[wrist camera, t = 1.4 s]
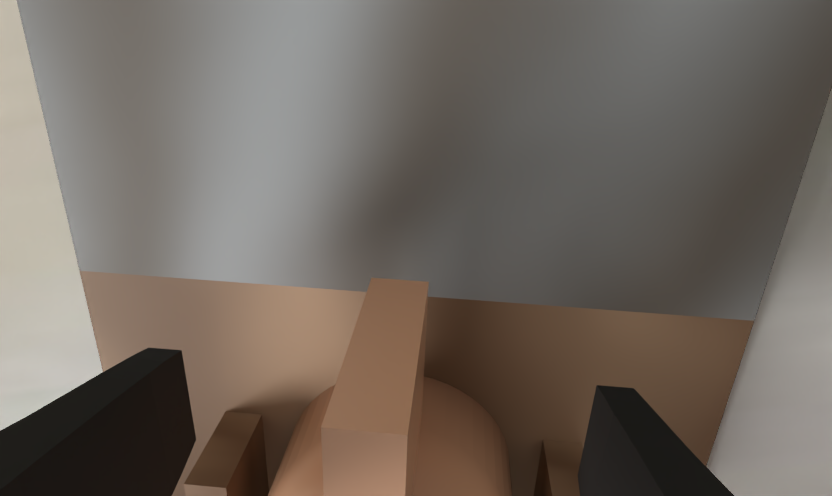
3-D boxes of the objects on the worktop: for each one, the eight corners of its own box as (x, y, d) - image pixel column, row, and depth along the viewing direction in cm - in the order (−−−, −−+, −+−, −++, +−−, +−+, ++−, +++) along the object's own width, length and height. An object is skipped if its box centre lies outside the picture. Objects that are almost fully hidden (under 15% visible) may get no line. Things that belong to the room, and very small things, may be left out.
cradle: (157, 530, 19) (98, 632, 16) (-6, -233, 11) (-196, -321, 8) (651, 580, 18) (688, 699, 15) (901, -216, 10) (1100, -311, 7)
